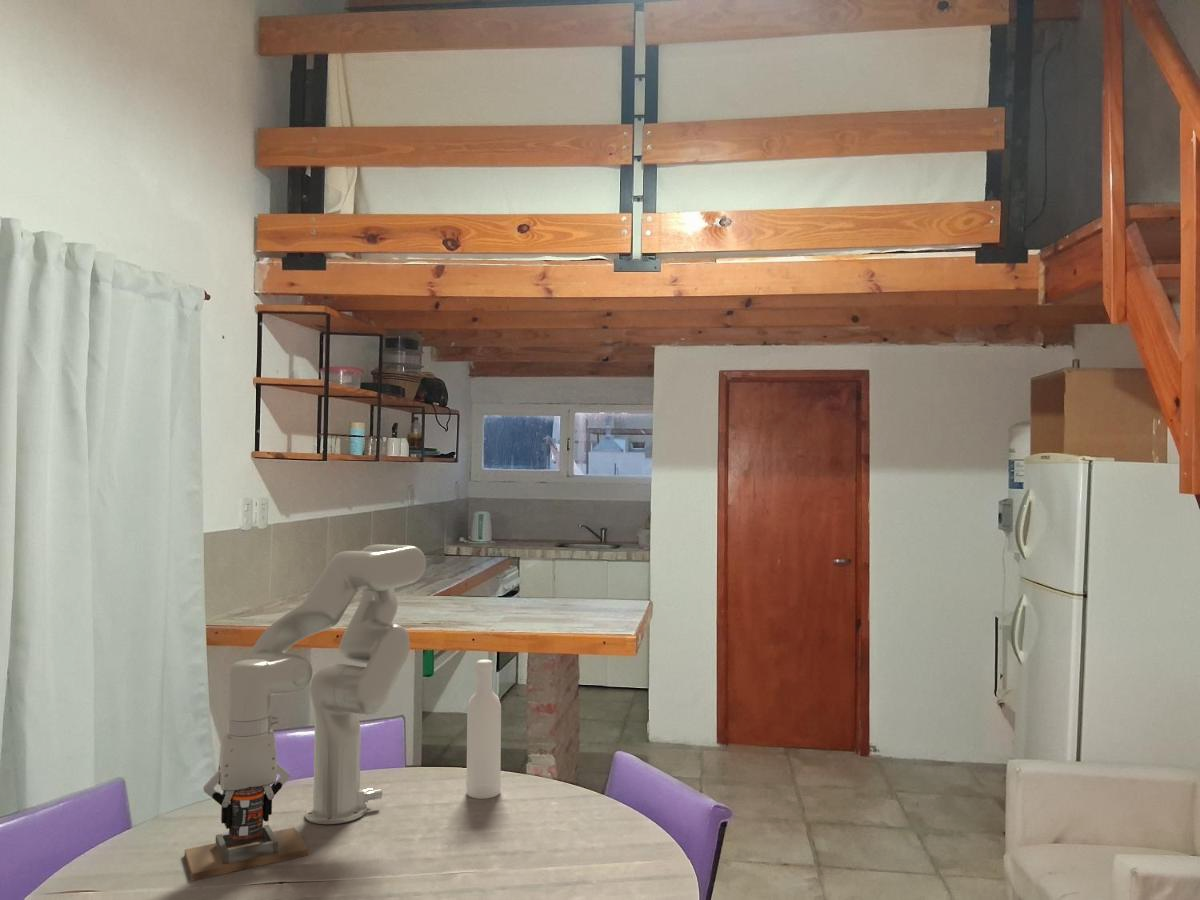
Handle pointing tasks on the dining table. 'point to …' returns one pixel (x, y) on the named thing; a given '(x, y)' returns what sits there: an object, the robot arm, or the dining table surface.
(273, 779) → the robot arm
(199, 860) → the cap board
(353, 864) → the dining table surface
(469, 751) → the bottle
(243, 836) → the supplement bottle
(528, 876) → the dining table surface
